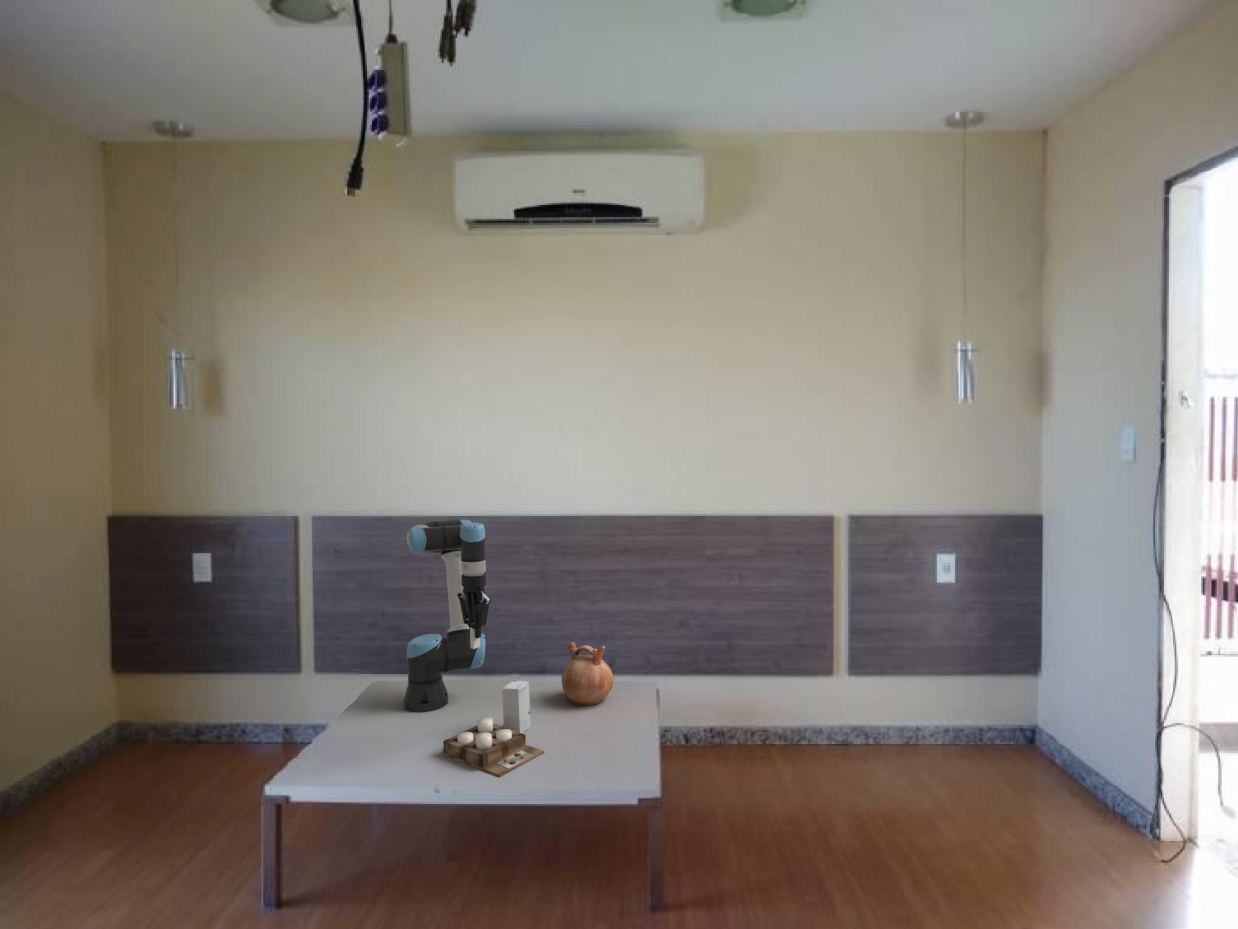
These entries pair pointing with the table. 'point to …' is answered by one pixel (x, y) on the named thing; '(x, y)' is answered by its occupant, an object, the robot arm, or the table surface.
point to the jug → (586, 676)
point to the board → (492, 752)
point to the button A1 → (465, 737)
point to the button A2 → (485, 725)
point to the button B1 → (483, 741)
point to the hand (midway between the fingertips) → (475, 647)
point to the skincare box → (516, 706)
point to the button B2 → (503, 734)
